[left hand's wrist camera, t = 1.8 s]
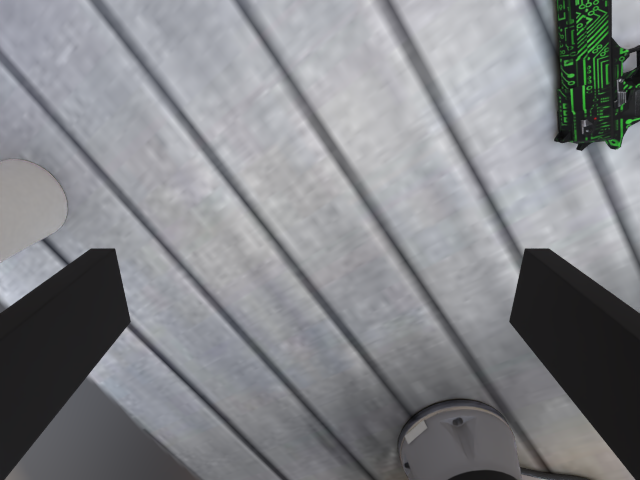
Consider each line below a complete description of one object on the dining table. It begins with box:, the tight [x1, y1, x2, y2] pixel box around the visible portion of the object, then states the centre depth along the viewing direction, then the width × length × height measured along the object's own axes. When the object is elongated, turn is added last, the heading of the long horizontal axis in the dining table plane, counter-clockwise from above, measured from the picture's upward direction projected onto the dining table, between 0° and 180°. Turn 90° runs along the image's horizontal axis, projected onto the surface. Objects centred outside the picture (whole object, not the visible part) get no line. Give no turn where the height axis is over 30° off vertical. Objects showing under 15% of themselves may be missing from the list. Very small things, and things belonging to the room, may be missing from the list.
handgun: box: [554, 0, 640, 151], centre depth 34 cm, size 16×3×15 cm
